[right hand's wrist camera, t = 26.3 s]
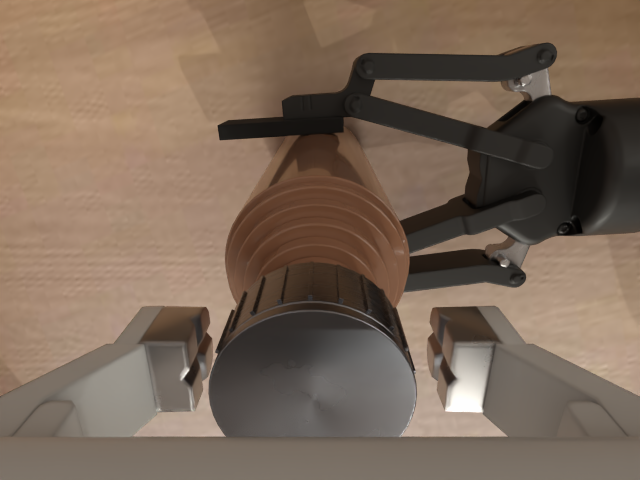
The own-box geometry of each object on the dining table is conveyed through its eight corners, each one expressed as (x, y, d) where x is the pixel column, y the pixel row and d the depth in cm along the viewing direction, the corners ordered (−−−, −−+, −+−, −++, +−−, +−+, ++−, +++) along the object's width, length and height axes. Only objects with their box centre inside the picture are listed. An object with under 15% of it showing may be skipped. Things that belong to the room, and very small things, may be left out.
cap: (339, 225, 9) (343, 266, 7) (432, 358, 10) (457, 424, 8) (192, 316, 10) (160, 375, 8) (294, 428, 11) (288, 503, 9)
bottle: (309, 100, 28) (268, 175, 7) (380, 152, 30) (522, 345, 9) (262, 173, 30) (119, 400, 9) (330, 219, 32) (344, 512, 10)
